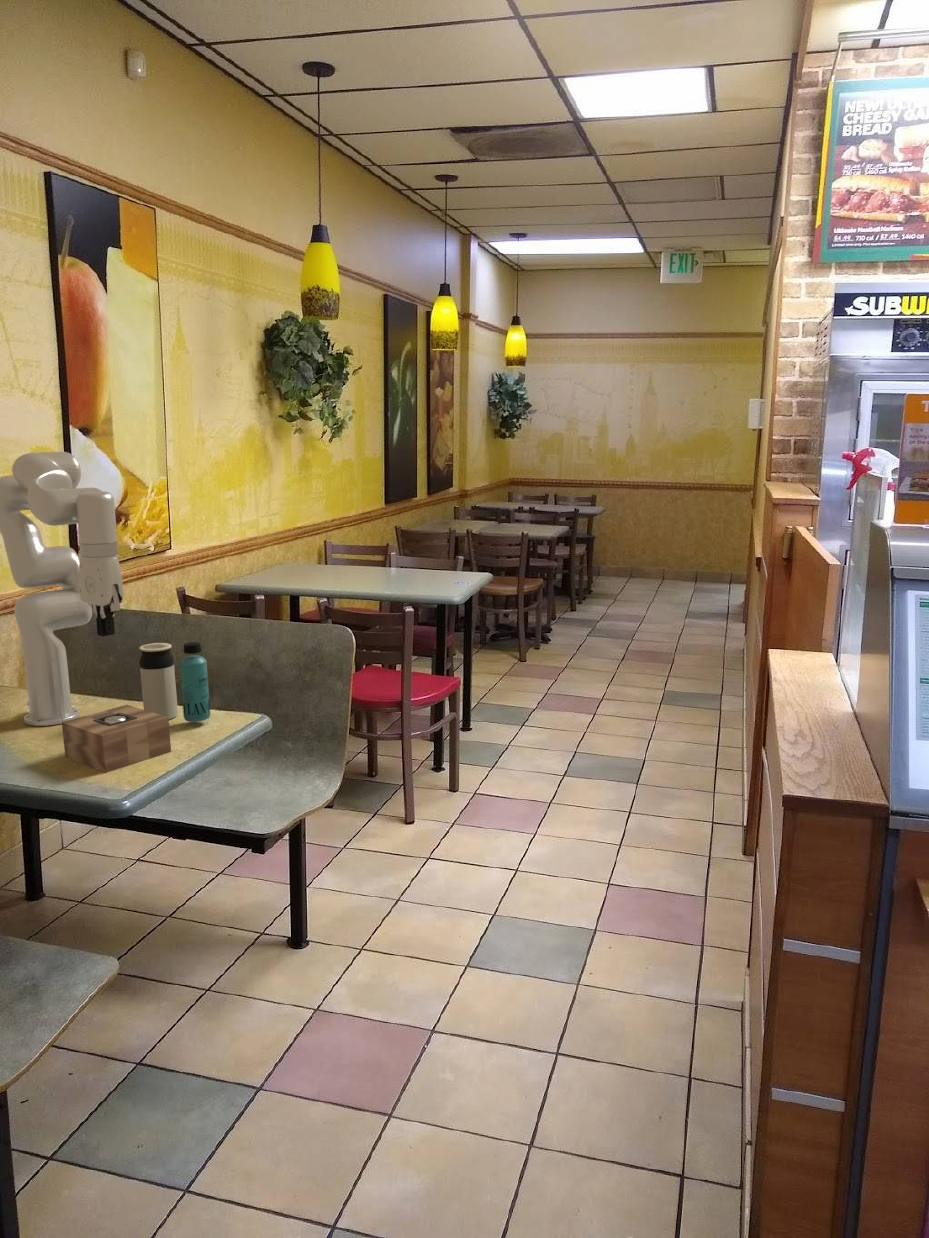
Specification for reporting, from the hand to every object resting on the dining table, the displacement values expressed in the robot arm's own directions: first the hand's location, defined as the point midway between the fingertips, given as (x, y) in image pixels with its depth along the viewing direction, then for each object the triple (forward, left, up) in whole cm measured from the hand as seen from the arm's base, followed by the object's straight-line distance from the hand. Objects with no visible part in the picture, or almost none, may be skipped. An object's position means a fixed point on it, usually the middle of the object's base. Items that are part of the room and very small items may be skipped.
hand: (106, 634), depth 212 cm
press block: (+1, 0, -27) cm, 27 cm away
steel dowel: (+1, 0, -27) cm, 27 cm away
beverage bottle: (-3, +24, -27) cm, 36 cm away
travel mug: (-15, +22, -27) cm, 38 cm away
